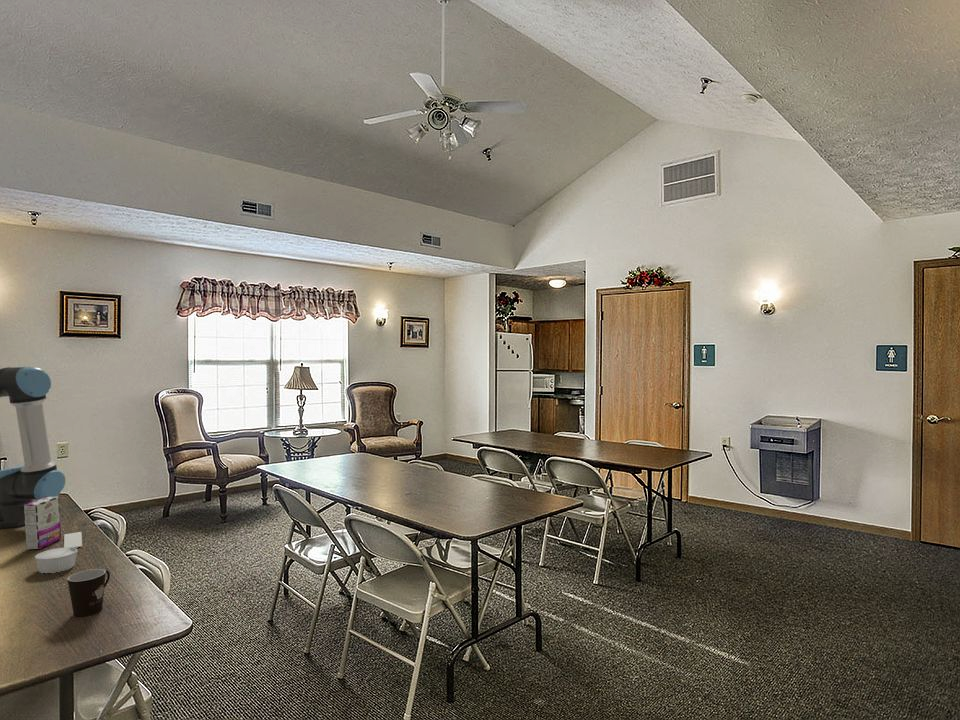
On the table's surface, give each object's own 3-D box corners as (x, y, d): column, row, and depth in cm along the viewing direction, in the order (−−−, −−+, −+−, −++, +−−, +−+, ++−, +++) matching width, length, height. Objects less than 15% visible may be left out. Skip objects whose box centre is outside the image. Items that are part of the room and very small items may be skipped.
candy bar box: (48, 540, 220) (46, 496, 220) (61, 539, 220) (60, 496, 220) (24, 550, 209) (23, 504, 209) (38, 550, 209) (36, 504, 208)
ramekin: (81, 568, 191) (81, 552, 191) (39, 578, 183) (38, 561, 183) (73, 560, 199) (72, 544, 198) (32, 569, 190) (31, 553, 190)
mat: (64, 536, 224) (64, 534, 224) (81, 533, 228) (81, 531, 228) (63, 550, 208) (63, 548, 208) (82, 547, 211) (82, 545, 211)
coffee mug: (78, 622, 152) (76, 583, 152) (62, 614, 157) (61, 577, 157) (124, 604, 162) (123, 569, 162) (108, 598, 167) (107, 563, 167)
